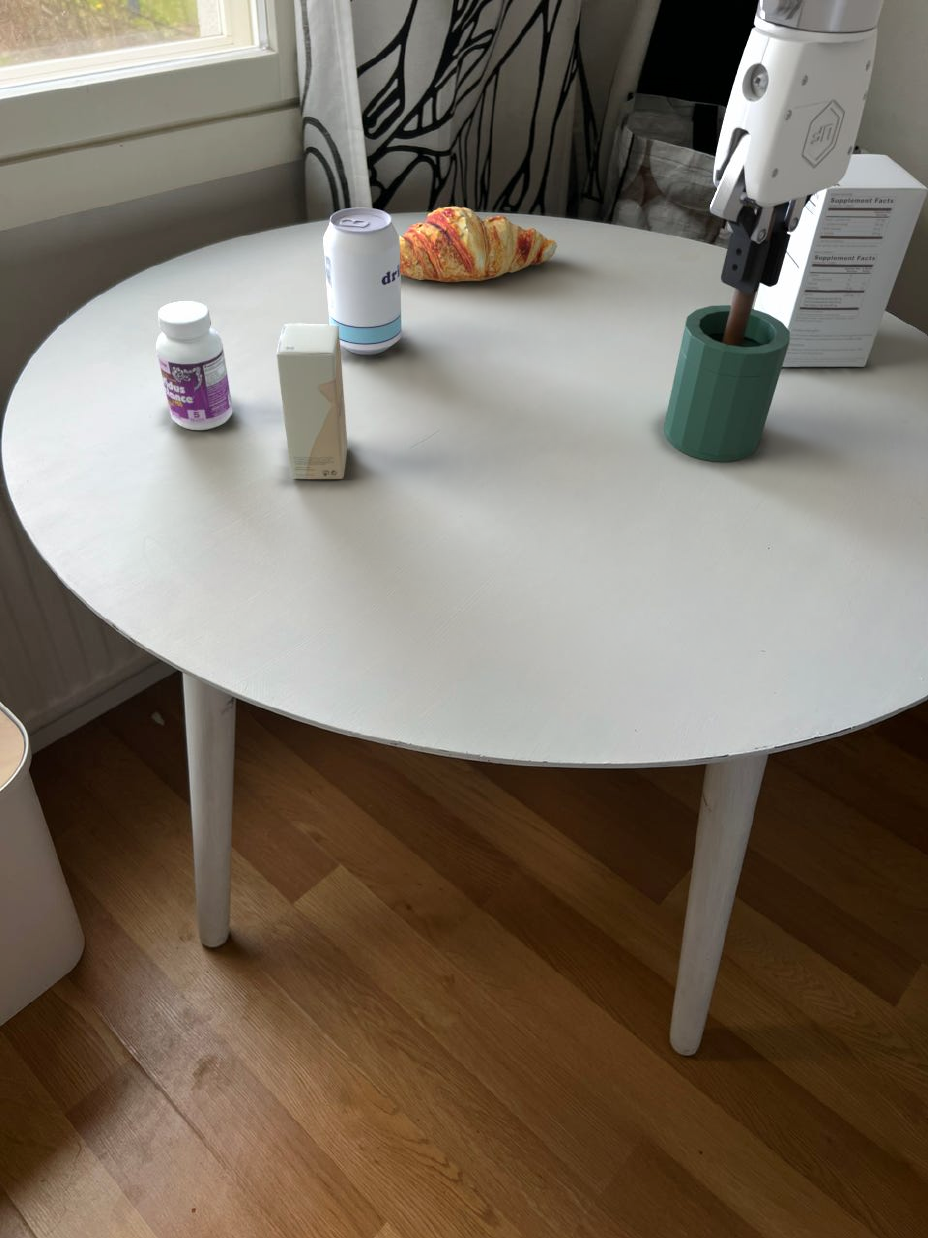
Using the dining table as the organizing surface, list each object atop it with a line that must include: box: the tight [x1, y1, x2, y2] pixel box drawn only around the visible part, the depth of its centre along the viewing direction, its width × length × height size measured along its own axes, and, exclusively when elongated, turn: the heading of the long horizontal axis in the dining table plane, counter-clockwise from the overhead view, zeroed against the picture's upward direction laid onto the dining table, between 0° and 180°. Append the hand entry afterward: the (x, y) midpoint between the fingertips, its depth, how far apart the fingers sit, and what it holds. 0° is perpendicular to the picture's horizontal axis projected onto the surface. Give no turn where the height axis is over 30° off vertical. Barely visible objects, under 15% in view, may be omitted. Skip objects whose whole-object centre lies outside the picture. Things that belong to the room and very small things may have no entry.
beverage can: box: [322, 206, 402, 356], centre depth 86 cm, size 7×7×12 cm
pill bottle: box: [155, 300, 234, 431], centre depth 77 cm, size 5×5×10 cm
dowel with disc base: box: [722, 206, 777, 347], centre depth 73 cm, size 4×4×16 cm
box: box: [276, 323, 348, 480], centre depth 72 cm, size 5×4×11 cm
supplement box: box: [753, 153, 928, 368], centre depth 87 cm, size 10×9×17 cm
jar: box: [663, 304, 790, 463], centre depth 77 cm, size 8×8×10 cm
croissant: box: [399, 206, 558, 284], centre depth 101 cm, size 21×10×8 cm, turn 104°
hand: (748, 282), depth 71 cm, fingers closed on dowel with disc base, 1 cm apart
